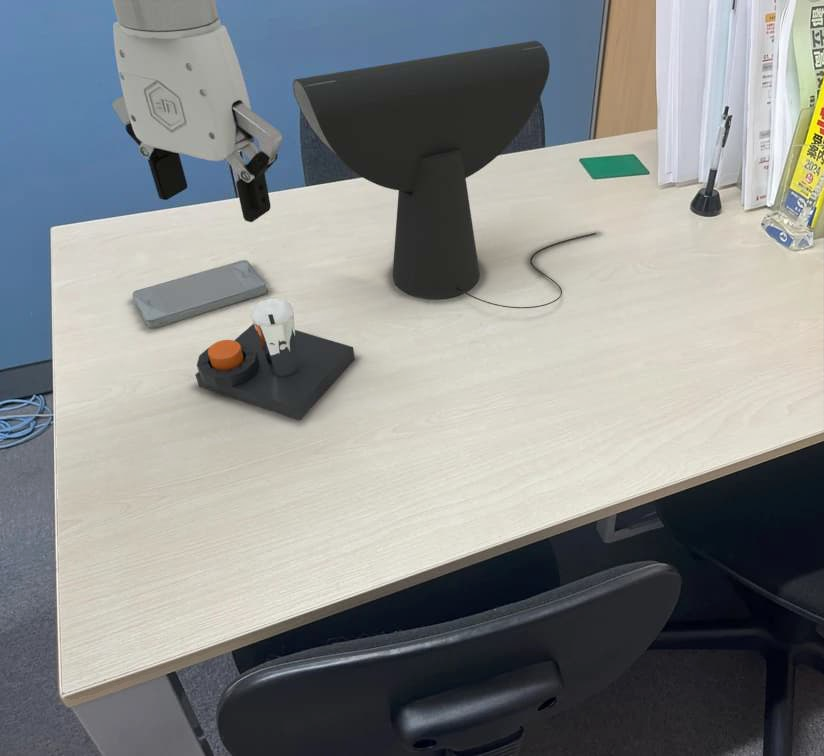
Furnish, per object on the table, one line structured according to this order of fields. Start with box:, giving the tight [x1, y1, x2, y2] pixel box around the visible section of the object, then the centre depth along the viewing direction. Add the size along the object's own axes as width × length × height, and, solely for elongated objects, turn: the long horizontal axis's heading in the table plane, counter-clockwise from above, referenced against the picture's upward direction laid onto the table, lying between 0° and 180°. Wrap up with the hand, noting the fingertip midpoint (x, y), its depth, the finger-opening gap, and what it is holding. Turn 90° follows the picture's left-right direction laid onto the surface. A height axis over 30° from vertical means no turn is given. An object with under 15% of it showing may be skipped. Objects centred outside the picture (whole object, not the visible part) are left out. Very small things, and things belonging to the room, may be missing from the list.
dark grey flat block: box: [194, 323, 356, 421], centre depth 85 cm, size 14×13×4 cm
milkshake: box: [250, 297, 298, 376], centre depth 80 cm, size 4×5×10 cm
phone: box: [132, 259, 268, 329], centre depth 97 cm, size 8×16×1 cm, turn 125°
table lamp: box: [292, 40, 596, 309], centre depth 95 cm, size 40×28×30 cm
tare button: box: [207, 339, 244, 370], centre depth 82 cm, size 4×4×2 cm
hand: (215, 204), depth 67 cm, fingers open, 9 cm apart
